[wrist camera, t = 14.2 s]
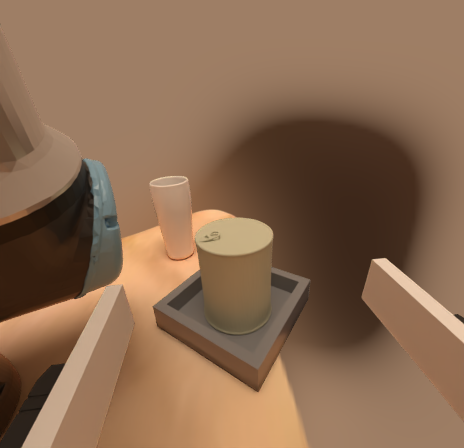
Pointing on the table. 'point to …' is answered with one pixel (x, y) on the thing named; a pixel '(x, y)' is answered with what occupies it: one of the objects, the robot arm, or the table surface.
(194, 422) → the table surface
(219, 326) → the can
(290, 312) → the tray
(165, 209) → the drinking glass
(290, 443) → the table surface
